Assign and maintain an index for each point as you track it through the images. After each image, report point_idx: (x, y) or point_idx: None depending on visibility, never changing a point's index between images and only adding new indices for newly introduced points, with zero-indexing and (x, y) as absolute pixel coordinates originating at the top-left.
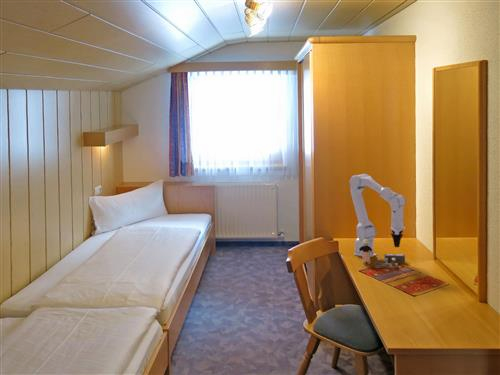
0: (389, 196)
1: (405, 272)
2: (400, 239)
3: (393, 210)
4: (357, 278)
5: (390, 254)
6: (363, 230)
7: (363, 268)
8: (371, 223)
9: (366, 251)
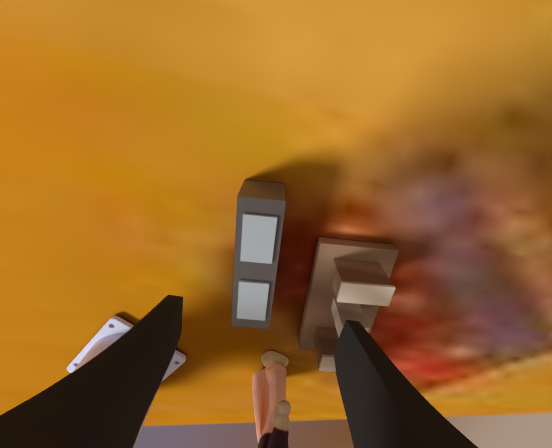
0: None
1: (481, 215)
2: (449, 424)
3: None
4: (491, 409)
5: (245, 296)
6: None
7: None
8: None
9: (287, 444)
